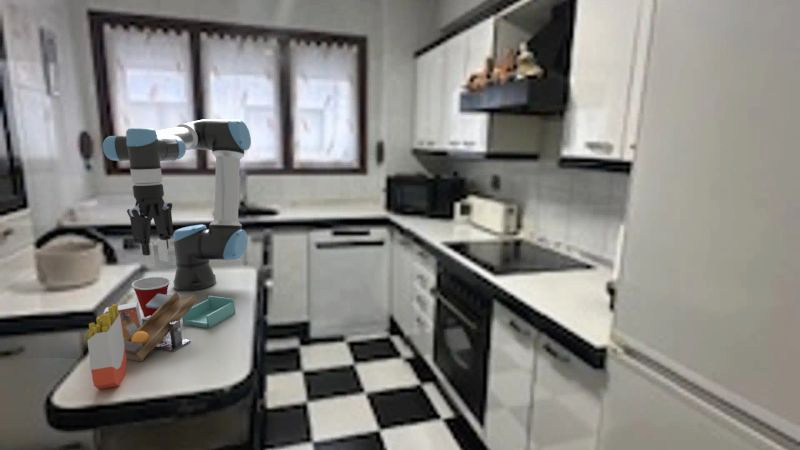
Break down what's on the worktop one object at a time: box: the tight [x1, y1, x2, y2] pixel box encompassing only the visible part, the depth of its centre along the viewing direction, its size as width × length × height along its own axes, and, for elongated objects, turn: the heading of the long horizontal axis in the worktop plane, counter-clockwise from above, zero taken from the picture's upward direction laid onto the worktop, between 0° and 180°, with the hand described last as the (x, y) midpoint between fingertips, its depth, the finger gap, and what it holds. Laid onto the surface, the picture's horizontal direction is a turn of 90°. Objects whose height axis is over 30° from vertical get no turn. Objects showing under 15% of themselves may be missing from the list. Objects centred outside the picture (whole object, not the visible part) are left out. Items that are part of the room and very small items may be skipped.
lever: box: [124, 291, 198, 362], centre depth 122 cm, size 22×15×4 cm
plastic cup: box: [131, 276, 171, 318], centre depth 140 cm, size 11×11×12 cm
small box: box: [102, 301, 142, 341], centre depth 122 cm, size 8×6×10 cm
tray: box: [181, 295, 236, 329], centre depth 139 cm, size 12×10×5 cm
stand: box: [141, 316, 191, 353], centre depth 122 cm, size 6×13×7 cm, turn 72°
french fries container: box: [87, 303, 128, 390], centre depth 102 cm, size 5×11×18 cm, turn 20°
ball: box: [131, 331, 149, 346], centre depth 115 cm, size 4×4×4 cm
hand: (157, 262), depth 128 cm, fingers open, 4 cm apart
